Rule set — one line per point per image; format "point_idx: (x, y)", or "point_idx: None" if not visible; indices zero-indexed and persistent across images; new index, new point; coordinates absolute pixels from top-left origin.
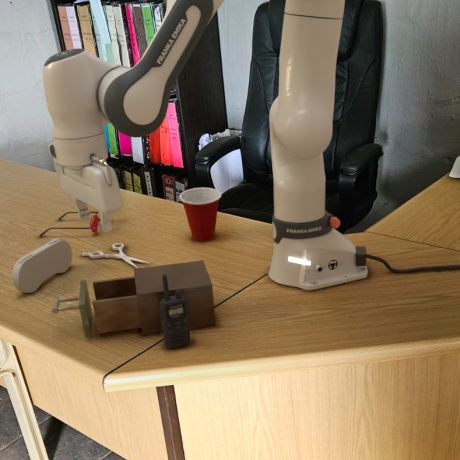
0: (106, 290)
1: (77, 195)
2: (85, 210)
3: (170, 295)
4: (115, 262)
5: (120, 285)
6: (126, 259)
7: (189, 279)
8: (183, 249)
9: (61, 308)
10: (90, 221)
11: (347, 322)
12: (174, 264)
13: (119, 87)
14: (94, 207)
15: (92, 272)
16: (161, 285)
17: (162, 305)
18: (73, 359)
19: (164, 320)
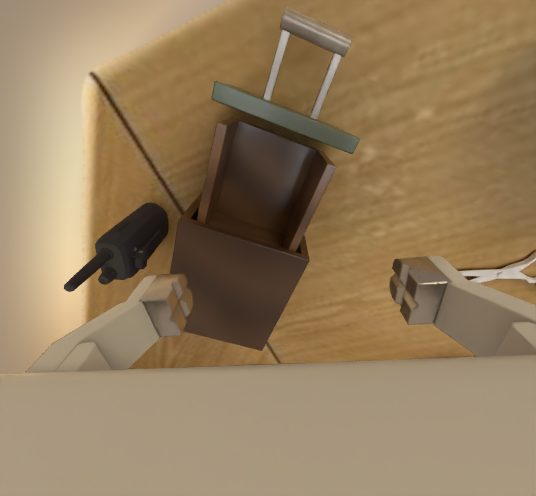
0: (311, 184)
1: (396, 406)
2: (415, 307)
3: (145, 265)
4: (502, 255)
5: (299, 215)
6: (486, 273)
7: (198, 311)
8: (435, 341)
9: (279, 40)
10: None
11: (137, 364)
12: (275, 318)
13: None
14: (29, 379)
15: (509, 207)
16: (197, 270)
17: (102, 238)
18: (176, 31)
19: (117, 224)
